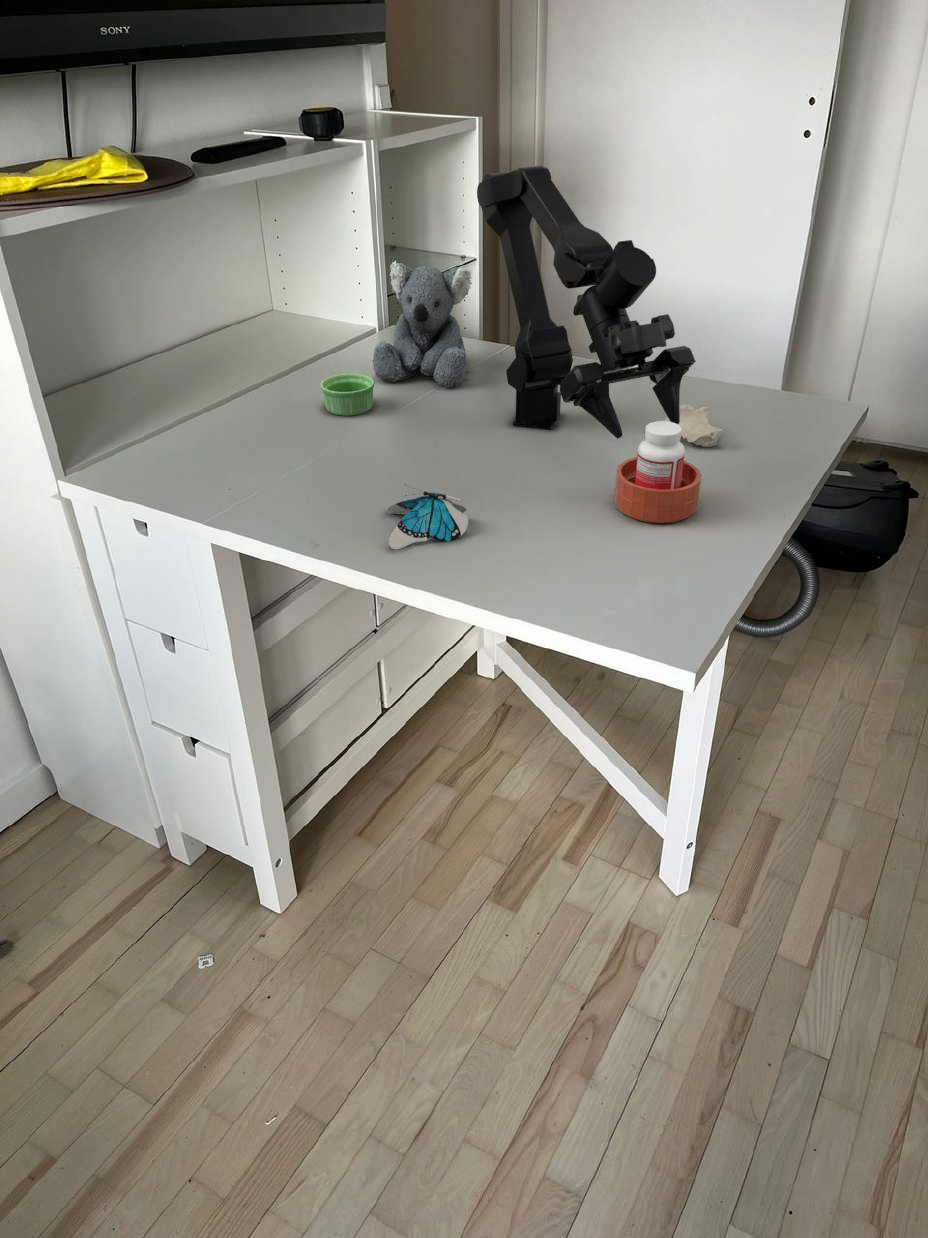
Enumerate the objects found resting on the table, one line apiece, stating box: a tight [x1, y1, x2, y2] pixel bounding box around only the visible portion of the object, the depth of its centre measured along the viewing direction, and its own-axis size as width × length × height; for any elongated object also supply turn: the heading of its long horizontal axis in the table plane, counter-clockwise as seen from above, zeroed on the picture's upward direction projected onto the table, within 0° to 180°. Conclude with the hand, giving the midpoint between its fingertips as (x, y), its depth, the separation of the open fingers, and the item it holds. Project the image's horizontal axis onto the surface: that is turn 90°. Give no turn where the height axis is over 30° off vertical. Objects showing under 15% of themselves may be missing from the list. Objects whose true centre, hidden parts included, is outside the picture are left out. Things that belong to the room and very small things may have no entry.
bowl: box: [613, 456, 702, 524], centre depth 131 cm, size 11×11×5 cm
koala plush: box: [372, 260, 473, 388], centre depth 173 cm, size 17×18×20 cm
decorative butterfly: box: [387, 483, 469, 550], centre depth 126 cm, size 10×6×10 cm
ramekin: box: [320, 373, 375, 417], centre depth 162 cm, size 9×9×4 cm
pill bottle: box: [635, 420, 686, 490], centre depth 129 cm, size 6×6×11 cm
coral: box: [663, 403, 723, 448], centre depth 150 cm, size 6×10×4 cm, turn 46°
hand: (648, 430), depth 129 cm, fingers open, 9 cm apart
